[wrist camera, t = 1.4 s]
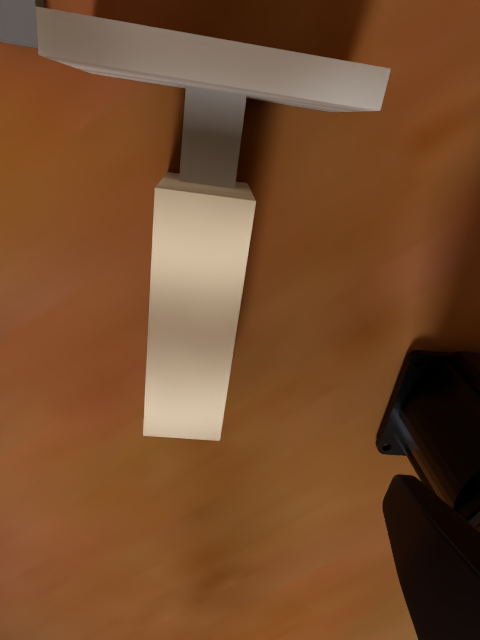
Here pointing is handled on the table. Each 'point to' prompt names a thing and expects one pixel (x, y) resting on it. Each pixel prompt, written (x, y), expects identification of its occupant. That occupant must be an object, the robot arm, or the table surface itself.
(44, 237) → the table surface
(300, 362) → the table surface
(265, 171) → the table surface
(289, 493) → the table surface
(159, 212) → the cream saddle block
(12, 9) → the tool mat
